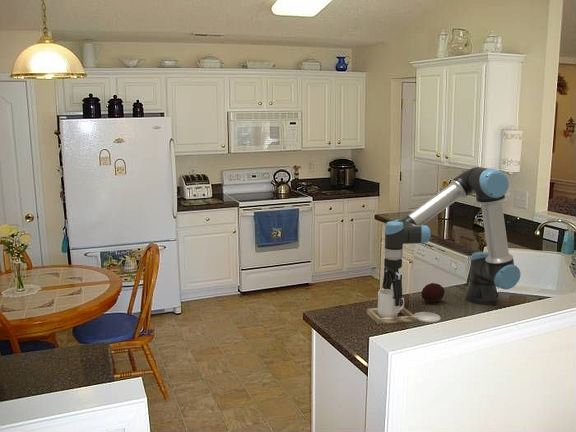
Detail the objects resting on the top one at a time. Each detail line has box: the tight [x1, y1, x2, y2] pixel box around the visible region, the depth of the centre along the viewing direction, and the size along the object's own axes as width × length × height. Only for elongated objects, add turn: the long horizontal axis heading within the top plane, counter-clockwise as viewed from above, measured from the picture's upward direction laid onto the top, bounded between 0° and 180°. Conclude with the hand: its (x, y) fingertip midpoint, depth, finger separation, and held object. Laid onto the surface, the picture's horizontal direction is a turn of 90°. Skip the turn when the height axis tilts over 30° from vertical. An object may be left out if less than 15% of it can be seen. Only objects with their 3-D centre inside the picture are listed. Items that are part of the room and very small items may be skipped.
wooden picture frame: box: [366, 305, 417, 325], centre depth 236 cm, size 17×14×2 cm
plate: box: [413, 311, 441, 324], centre depth 235 cm, size 11×11×1 cm
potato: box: [421, 282, 446, 303], centre depth 255 cm, size 9×12×9 cm
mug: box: [377, 288, 405, 318], centre depth 235 cm, size 9×12×11 cm
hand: (391, 309), depth 236 cm, fingers closed on mug, 9 cm apart
